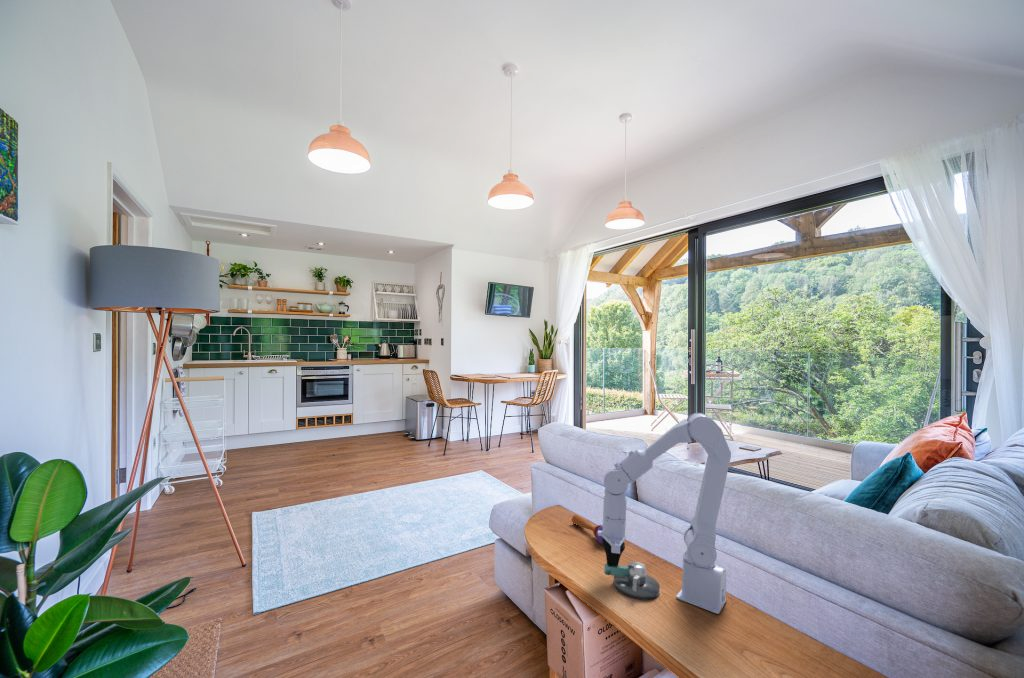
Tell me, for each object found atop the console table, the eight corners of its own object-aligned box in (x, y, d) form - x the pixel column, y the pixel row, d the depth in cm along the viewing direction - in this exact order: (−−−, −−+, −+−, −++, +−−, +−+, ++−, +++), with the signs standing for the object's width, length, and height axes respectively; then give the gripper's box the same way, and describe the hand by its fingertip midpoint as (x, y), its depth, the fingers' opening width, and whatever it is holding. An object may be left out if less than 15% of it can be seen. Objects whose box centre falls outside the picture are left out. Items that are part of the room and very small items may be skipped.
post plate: (665, 587, 107) (666, 569, 107) (649, 605, 98) (650, 585, 99) (624, 572, 114) (625, 555, 114) (605, 587, 105) (606, 569, 106)
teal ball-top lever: (644, 577, 108) (644, 562, 108) (646, 586, 104) (647, 570, 104) (603, 571, 110) (604, 557, 110) (604, 580, 105) (605, 565, 105)
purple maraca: (584, 511, 149) (621, 529, 130) (581, 529, 147) (618, 549, 129) (570, 509, 146) (605, 527, 128) (567, 528, 145) (602, 548, 127)
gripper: (597, 505, 117) (595, 555, 117) (599, 524, 103) (597, 582, 102) (623, 508, 116) (621, 559, 115) (629, 528, 102) (627, 586, 101)
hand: (612, 570), depth 109 cm, fingers closed, pressing on teal ball-top lever
